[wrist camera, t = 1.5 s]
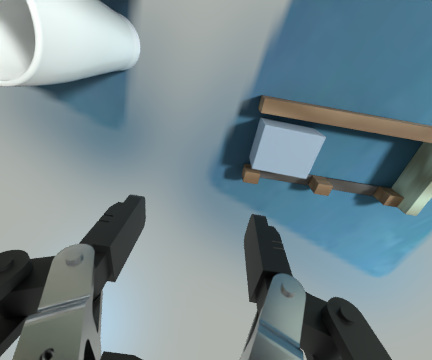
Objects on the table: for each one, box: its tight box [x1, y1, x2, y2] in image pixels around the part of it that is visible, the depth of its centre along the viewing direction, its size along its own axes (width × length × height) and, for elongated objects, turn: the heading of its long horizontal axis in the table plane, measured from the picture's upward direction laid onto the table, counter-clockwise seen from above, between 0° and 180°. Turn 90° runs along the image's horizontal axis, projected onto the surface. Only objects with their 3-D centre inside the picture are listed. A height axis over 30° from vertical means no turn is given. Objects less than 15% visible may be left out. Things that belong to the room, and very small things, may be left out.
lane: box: [242, 95, 432, 216], centre depth 25 cm, size 11×24×4 cm, turn 81°
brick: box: [249, 118, 326, 179], centre depth 25 cm, size 6×7×4 cm
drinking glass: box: [0, 0, 141, 87], centre depth 16 cm, size 7×7×15 cm
